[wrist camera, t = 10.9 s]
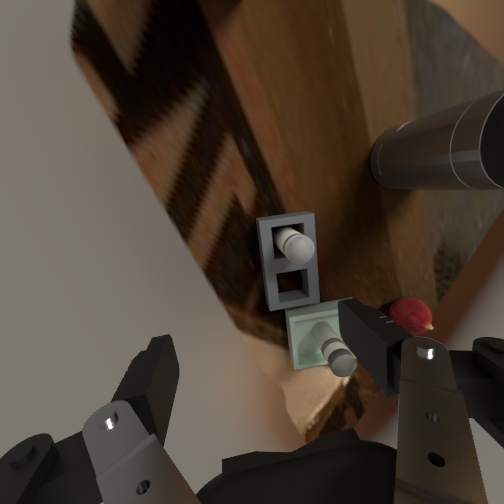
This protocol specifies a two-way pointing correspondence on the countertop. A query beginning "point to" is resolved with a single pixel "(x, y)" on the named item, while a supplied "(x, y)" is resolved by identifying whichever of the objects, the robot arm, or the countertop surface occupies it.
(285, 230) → the ball
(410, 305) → the onion
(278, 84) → the countertop surface
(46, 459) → the robot arm
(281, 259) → the block
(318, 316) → the parts tray
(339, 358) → the cylinder
